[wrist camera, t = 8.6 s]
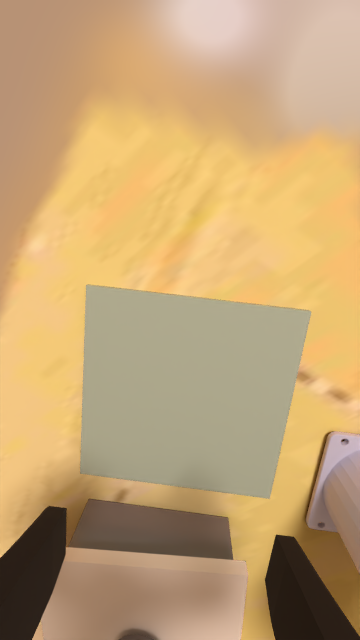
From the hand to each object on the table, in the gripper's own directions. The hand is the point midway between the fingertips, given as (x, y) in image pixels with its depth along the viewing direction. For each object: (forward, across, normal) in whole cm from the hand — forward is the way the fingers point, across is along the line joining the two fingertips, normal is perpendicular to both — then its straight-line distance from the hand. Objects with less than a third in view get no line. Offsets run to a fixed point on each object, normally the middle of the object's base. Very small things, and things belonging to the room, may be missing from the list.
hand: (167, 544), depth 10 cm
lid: (+6, +1, +14) cm, 16 cm away
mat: (+10, 0, 0) cm, 10 cm away
